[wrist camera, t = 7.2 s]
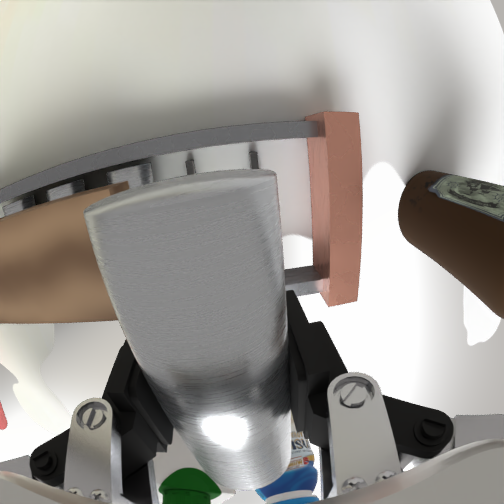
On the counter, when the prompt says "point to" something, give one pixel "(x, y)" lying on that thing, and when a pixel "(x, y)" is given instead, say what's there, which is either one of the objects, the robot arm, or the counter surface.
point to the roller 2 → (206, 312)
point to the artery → (2, 418)
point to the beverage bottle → (294, 475)
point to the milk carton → (185, 478)
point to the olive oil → (459, 230)
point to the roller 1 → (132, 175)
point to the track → (320, 166)
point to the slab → (53, 263)
